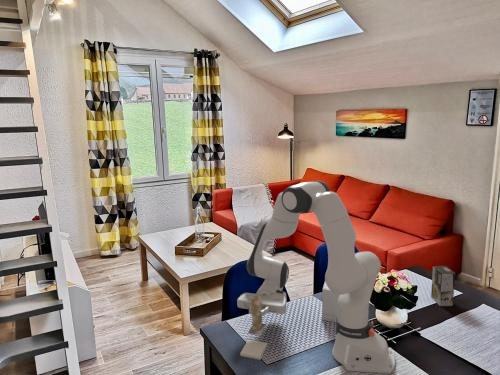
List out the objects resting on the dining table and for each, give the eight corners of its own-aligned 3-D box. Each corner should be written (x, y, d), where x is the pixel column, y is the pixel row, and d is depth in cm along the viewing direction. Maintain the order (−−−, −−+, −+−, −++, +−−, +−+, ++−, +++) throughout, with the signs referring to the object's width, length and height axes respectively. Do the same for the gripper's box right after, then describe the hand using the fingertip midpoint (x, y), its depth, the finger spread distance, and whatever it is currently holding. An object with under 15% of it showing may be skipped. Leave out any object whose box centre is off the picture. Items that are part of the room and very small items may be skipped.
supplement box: (342, 323, 163) (343, 291, 160) (321, 320, 166) (322, 289, 163) (344, 312, 172) (345, 282, 169) (324, 310, 175) (324, 280, 172)
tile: (267, 343, 149) (260, 357, 141) (267, 346, 150) (260, 360, 142) (248, 339, 152) (240, 352, 144) (248, 342, 153) (240, 356, 144)
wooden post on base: (266, 325, 152) (265, 294, 149) (260, 335, 146) (259, 303, 143) (254, 323, 154) (253, 292, 151) (248, 333, 147) (247, 301, 144)
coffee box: (453, 306, 175) (456, 273, 171) (439, 306, 175) (441, 273, 171) (443, 296, 184) (446, 265, 180) (430, 296, 184) (432, 265, 180)
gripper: (243, 286, 163) (231, 302, 150) (289, 292, 156) (281, 309, 143) (243, 300, 164) (231, 316, 151) (289, 306, 157) (281, 324, 145)
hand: (256, 313), depth 147 cm, fingers closed on wooden post on base, 3 cm apart
